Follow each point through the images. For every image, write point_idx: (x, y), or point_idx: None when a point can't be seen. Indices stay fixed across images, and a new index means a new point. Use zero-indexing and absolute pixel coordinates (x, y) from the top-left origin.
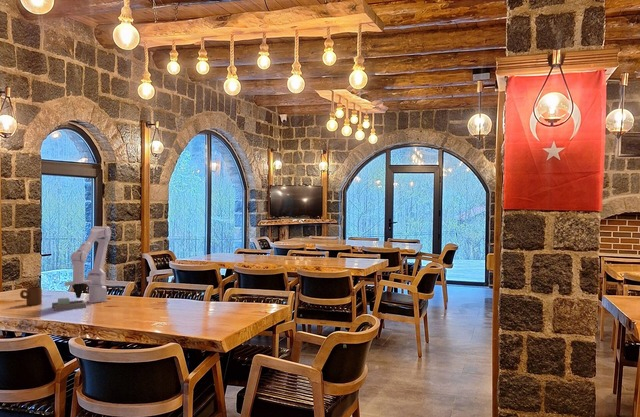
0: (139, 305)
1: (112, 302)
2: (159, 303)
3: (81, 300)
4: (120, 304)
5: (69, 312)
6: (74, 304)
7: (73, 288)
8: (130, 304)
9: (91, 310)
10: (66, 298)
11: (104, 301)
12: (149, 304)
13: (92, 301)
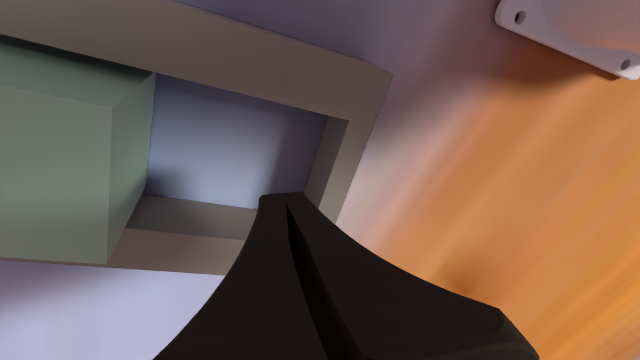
0: (556, 344)
1: (600, 156)
2: (637, 342)
3: (376, 81)
4: (545, 268)
5: (92, 355)
6: (182, 270)
7: (192, 332)
8: (567, 298)
9: None
10: (65, 172)
11: (612, 73)
12: (598, 343)
13: (543, 4)
